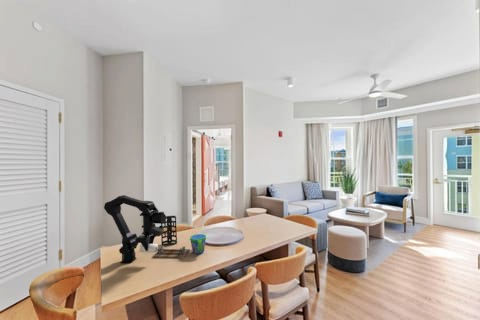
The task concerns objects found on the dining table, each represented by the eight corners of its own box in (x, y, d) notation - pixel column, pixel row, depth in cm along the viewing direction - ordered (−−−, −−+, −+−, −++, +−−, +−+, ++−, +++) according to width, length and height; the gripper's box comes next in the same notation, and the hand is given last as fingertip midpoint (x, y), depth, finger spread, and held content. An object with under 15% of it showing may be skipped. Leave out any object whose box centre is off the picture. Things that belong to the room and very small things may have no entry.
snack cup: (190, 248, 148) (189, 233, 148) (205, 246, 150) (205, 232, 150) (190, 258, 133) (190, 241, 133) (207, 255, 135) (207, 239, 135)
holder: (161, 246, 151) (160, 217, 153) (160, 243, 158) (160, 216, 160) (177, 244, 155) (177, 216, 158) (176, 241, 162) (176, 214, 164)
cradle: (152, 257, 134) (152, 251, 134) (160, 250, 145) (160, 244, 145) (183, 258, 133) (183, 251, 133) (189, 250, 144) (189, 244, 144)
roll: (139, 252, 126) (139, 245, 126) (143, 249, 130) (143, 242, 130) (155, 253, 125) (154, 245, 125) (158, 249, 130) (158, 242, 130)
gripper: (153, 227, 118) (154, 256, 118) (167, 218, 137) (168, 243, 137) (134, 227, 119) (135, 256, 119) (150, 218, 137) (151, 243, 137)
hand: (148, 249), depth 128 cm, fingers closed on roll, 4 cm apart
